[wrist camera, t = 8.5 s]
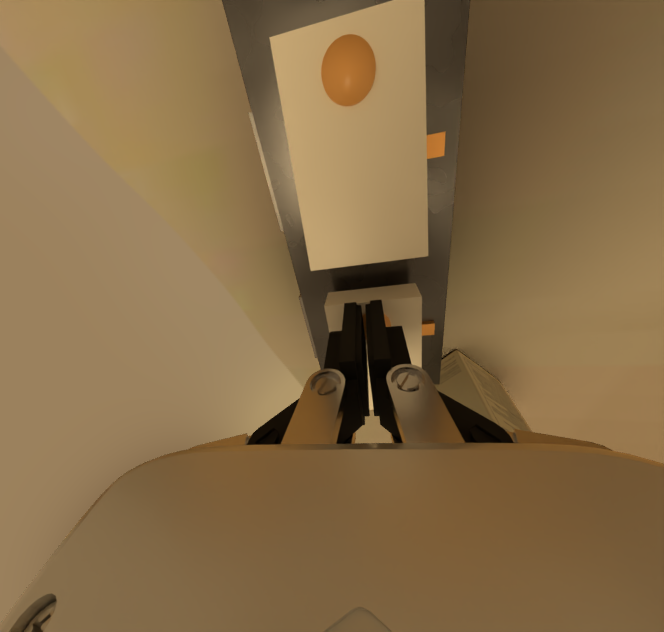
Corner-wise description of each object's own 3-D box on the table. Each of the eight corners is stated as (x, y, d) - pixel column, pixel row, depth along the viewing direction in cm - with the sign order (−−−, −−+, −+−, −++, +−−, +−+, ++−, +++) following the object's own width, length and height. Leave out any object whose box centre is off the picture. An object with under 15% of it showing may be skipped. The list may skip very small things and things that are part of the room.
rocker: (328, 292, 13) (323, 307, 12) (415, 283, 12) (422, 297, 11) (346, 390, 16) (344, 412, 15) (416, 387, 16) (422, 410, 14)
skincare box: (416, 375, 23) (461, 557, 12) (457, 346, 20) (553, 538, 10) (463, 406, 24) (537, 589, 14) (506, 382, 22) (629, 579, 12)
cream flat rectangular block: (285, 67, 9) (267, 34, 7) (413, 31, 8) (425, -15, 7) (318, 264, 11) (309, 271, 10) (419, 251, 11) (429, 256, 9)
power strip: (155, -366, 7) (-38, -849, 4) (460, -564, 6) (610, -1644, 2) (326, 353, 22) (320, 392, 19) (426, 346, 21) (440, 387, 17)
